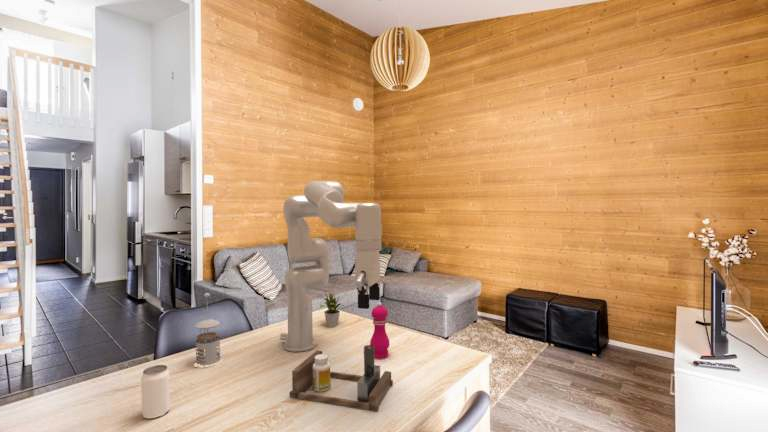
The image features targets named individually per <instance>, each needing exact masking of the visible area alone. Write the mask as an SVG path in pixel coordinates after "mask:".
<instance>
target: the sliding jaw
mask: <svg viewBox="0 0 768 432" xmlns="http://www.w3.org/2000/svg"><path fill="white" fill-rule="evenodd" d="M363 368H364V371H363V374H362V375H361V376H362V377H361V378H360V380H359V381H356V382H357V383H356V385H357V387H356V388H357V399H356V401H360V402H367V403H369V395H370V393H371V392H372V390H373V389H374V387H375V386H376V384H377V383H378V381H379V380H380V378H381V365H375V358H374V346H372V345H370V344H367V345H364V346H363Z"/></svg>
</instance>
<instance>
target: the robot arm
mask: <svg viewBox="0 0 768 432" xmlns="http://www.w3.org/2000/svg"><path fill="white" fill-rule="evenodd" d="M344 198H345V188H344V187H343V185H342V184H341V183H340V182H338V181H336V180H334V181H331V180H312V181H310V182H308V183H306V184H305V187H304V188H303V194H298V195H297V194H296V195H290V196H288V197H287V198H286V199H284V202H283V207H282V208H283V209H282V212H283V217H284V220H285V223H286V228H287V255H288V259H289V261H290V262H291V263H293V264H305V263H313V264H311V265H301V266H293V267H291V268H289V269H288V270H286V271H285V274H284V284H285V285H284V286H285V291H286V300H287V301H286V302H287V333H284V332H281V333H280V337H279V339H280V340H281V341H285V342H284V344H283V349H285V350H286V351H288V352H294V353H297V352H298V353H299V352H306V351H309V350H312V349H314V348H316V347H317V345H318V343H317V340H316V339H314V338H313V337H314V335H313V301H312V298H311V296H310V295H309V294H308V293H307V291H309V290H315V289H320V288H325V286H327V284H329V279H330V277H329V276H330V266H329V265H330V264H329V263H330V261H329V256H330V255H329V254H330V253H329V247H328V243H327V242H326V240H324V239H323V238H322V237H311V235H310V234H311V233H310V232H311V230H310V229H311V228H310V225H309V223H308V222H307V221H306V219H305V218H319V219H320V220H321V222H323V223H324V224H326V225H327V226H329V227H332V228H336V229H344V228H355V233H354V234H355V251H356V254H355V265H354V267H355V268H354V285H355V286H357V287H356V290H357V292H356V293H357V308H358V309H365V310H368V309H370V301H379V300H380V299H381V297H380V296H381V293H380V289H381V288H380V285H381V283H380V280H381V259H380V258H381V257H380V251H382V207H381V204H379V203H377V202H344V200H345V199H344Z"/></svg>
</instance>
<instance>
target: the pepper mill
mask: <svg viewBox="0 0 768 432" xmlns="http://www.w3.org/2000/svg"><path fill="white" fill-rule="evenodd" d="M388 315H389V313H388V309H387V307H385V306H383V303H382V302H381V301H378V302H377V304H376V306H375V307H373V308H372V310H371V317H372V318H373V319H372V324H373V326H374V330H373V334H372V336H371V338H370V340H369V345H372V346H374V359H380V360H381V359H385V358H388V357H389V350H388V349H389V348H390V338H389V336H388V335H387V332H386V324H387V317H388Z"/></svg>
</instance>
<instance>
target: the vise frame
mask: <svg viewBox="0 0 768 432" xmlns="http://www.w3.org/2000/svg"><path fill="white" fill-rule="evenodd" d="M319 354H323V350H316V351H314V352H313V353H312V354H310V355H309V356H308V357H307V358H305V360H303V361H302V362H300V363H299V365H297V366H296V367H294V369H292V371H291V374H292V375H291V376H292V377H291V379H292V381H291V382H292V385H291V386H292V387H291V388H292V390H290V391H289V393H288V394H289V398H291V399H297V400H303V401H305V400H306V401H309V402H317V403H322V404H326V405H327V404H329V405H334V406H335V405H336V406H340V407H345V408H347V407H348V408H353V409H359V410H365V411H372V412H377V413H378V412H379V409H380V405H381V404H382V401H383V400H384V398H385V396H386V395H387V393H388V391H389V389H390V388H391V387H393V385H394V379H392V371H388V370H387V371H386V370H385V371H384V372H383V374H382V375H381V376H380V380H379V381H378V383H377V384H376V386H375V387H374V389H373V390H372V392H371V393H370V395H369V403H367V402H360V401H357V400H353V399H348V398H340V397H335V396H334V397H333V396H328V395H321V394H315V393H308V392H307V391H308V390H309V389H310V388H311V387H313V364H314V363H315V356H316V355H319ZM362 376H363V375H359V374H351V373H344V372H337V371H330V379H331V378H332V379H338V380H344V381H351V382H358V381H359V380H360V378H361V377H362Z"/></svg>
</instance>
